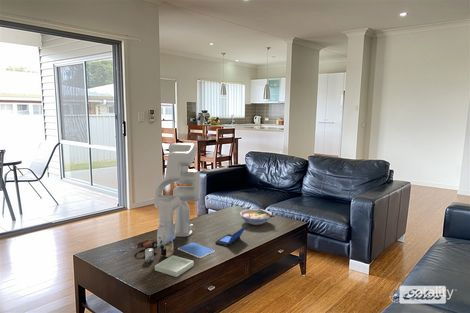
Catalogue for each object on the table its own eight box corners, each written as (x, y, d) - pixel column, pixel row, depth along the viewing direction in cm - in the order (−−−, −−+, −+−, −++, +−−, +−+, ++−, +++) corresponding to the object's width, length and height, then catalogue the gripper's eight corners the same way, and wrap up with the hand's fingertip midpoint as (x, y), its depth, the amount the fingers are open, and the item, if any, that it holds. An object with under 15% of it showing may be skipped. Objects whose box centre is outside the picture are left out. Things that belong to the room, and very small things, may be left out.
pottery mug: (139, 258, 182) (135, 243, 184) (140, 258, 191) (136, 245, 193) (160, 250, 186) (156, 236, 187) (161, 251, 194) (156, 237, 196)
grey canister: (149, 258, 181) (149, 247, 181) (155, 259, 179) (155, 249, 178) (143, 261, 178) (143, 250, 177) (149, 263, 175) (149, 252, 175)
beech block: (166, 251, 187) (166, 241, 186) (173, 253, 185) (173, 243, 184) (160, 255, 183) (160, 244, 182) (167, 257, 180) (167, 246, 179)
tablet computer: (176, 249, 193) (176, 247, 193) (193, 243, 203) (193, 241, 203) (199, 259, 181) (199, 257, 181) (215, 252, 190) (215, 250, 190)
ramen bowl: (234, 220, 245) (234, 209, 244) (261, 216, 254) (262, 206, 253) (248, 231, 222) (248, 219, 221) (278, 227, 231) (278, 215, 230)
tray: (172, 259, 180) (172, 255, 179) (193, 265, 173) (193, 260, 173) (154, 270, 168) (154, 265, 167) (176, 277, 161) (176, 272, 161)
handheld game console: (227, 236, 215) (228, 222, 213) (246, 240, 208) (246, 226, 207) (214, 244, 201) (214, 229, 200) (233, 249, 195) (233, 233, 193)
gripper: (170, 216, 190) (171, 246, 193) (149, 225, 175) (151, 258, 178) (181, 218, 186) (182, 249, 189) (160, 228, 171) (161, 261, 174)
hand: (167, 253), depth 183 cm, fingers closed on beech block, 5 cm apart
